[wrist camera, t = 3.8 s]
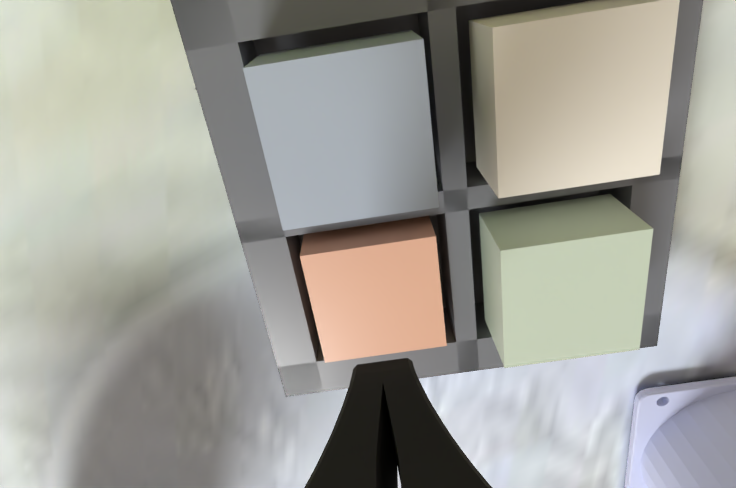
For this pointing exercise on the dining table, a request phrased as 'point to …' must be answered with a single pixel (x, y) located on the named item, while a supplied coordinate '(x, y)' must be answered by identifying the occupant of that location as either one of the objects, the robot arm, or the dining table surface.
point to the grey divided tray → (452, 163)
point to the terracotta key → (375, 288)
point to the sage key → (564, 279)
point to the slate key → (346, 128)
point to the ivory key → (571, 93)
